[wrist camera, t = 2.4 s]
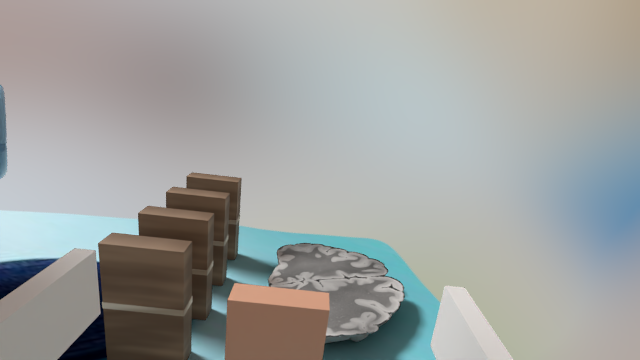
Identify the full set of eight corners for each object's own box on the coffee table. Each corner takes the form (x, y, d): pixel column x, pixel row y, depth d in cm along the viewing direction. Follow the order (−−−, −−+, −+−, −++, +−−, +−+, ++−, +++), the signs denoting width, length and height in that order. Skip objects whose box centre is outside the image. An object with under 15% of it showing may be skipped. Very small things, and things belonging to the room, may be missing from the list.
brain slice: (431, 346, 39) (437, 324, 38) (282, 368, 34) (285, 343, 33) (362, 256, 57) (365, 240, 56) (257, 262, 52) (258, 244, 51)
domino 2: (222, 286, 45) (225, 198, 41) (166, 280, 45) (165, 192, 41) (226, 277, 47) (230, 192, 43) (173, 271, 47) (172, 186, 43)
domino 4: (183, 368, 32) (184, 252, 29) (106, 360, 32) (97, 243, 29) (191, 350, 34) (193, 241, 31) (119, 343, 34) (112, 232, 31)
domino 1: (234, 260, 51) (238, 182, 48) (185, 255, 51) (186, 176, 47) (237, 253, 53) (241, 178, 50) (190, 248, 53) (191, 172, 49)
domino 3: (206, 320, 39) (208, 221, 35) (141, 313, 38) (137, 213, 35) (211, 308, 41) (214, 212, 37) (150, 302, 40) (147, 205, 37)
